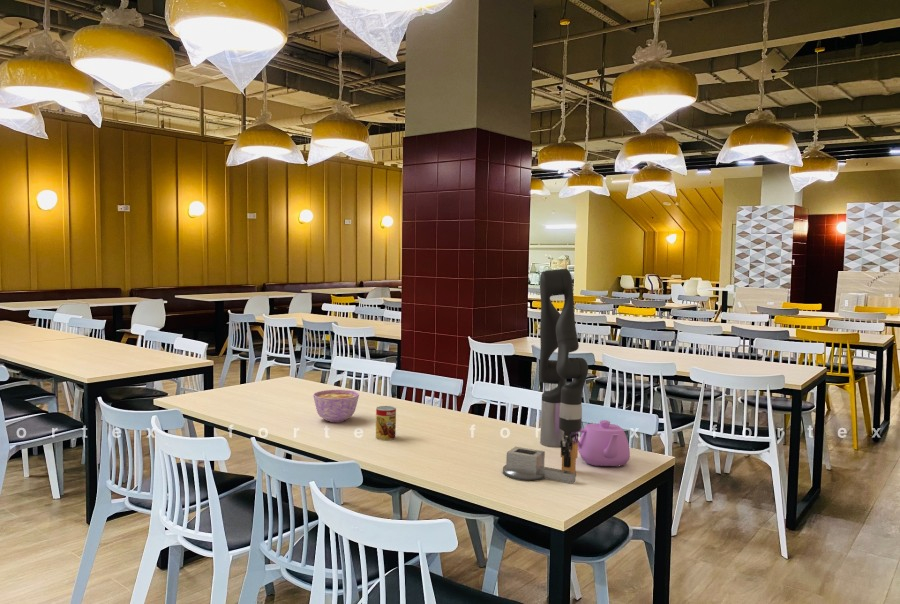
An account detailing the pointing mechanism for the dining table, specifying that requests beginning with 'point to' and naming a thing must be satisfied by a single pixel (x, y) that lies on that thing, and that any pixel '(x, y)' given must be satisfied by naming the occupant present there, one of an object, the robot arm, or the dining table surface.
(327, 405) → the bowl of food
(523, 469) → the bracket
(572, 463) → the orange block
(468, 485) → the dining table surface
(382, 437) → the canned food
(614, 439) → the teapot
